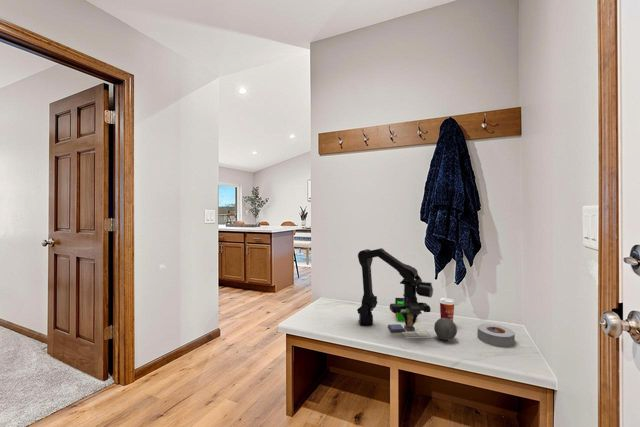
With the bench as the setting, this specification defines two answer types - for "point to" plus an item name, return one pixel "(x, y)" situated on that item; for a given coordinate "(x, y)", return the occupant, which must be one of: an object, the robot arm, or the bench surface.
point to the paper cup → (447, 308)
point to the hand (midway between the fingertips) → (409, 324)
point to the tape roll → (496, 335)
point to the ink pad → (396, 328)
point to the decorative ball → (445, 329)
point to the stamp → (409, 323)
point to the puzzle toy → (400, 303)
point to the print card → (416, 334)
